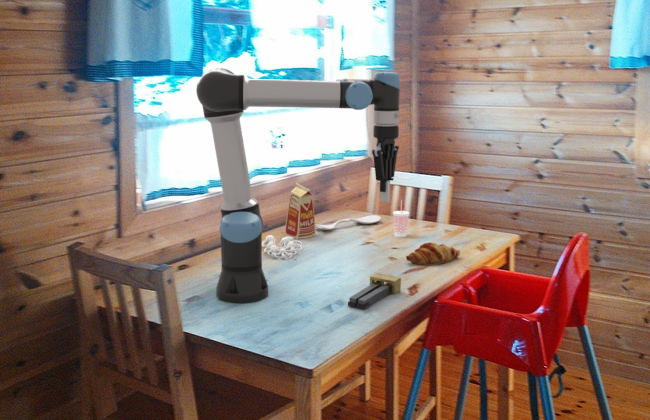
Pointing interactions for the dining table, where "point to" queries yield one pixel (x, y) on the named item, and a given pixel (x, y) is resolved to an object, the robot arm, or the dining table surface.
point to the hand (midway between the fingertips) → (384, 201)
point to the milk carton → (300, 214)
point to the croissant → (432, 254)
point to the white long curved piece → (362, 220)
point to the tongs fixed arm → (374, 296)
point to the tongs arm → (364, 293)
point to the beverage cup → (400, 222)
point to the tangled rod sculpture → (274, 249)
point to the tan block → (389, 279)
